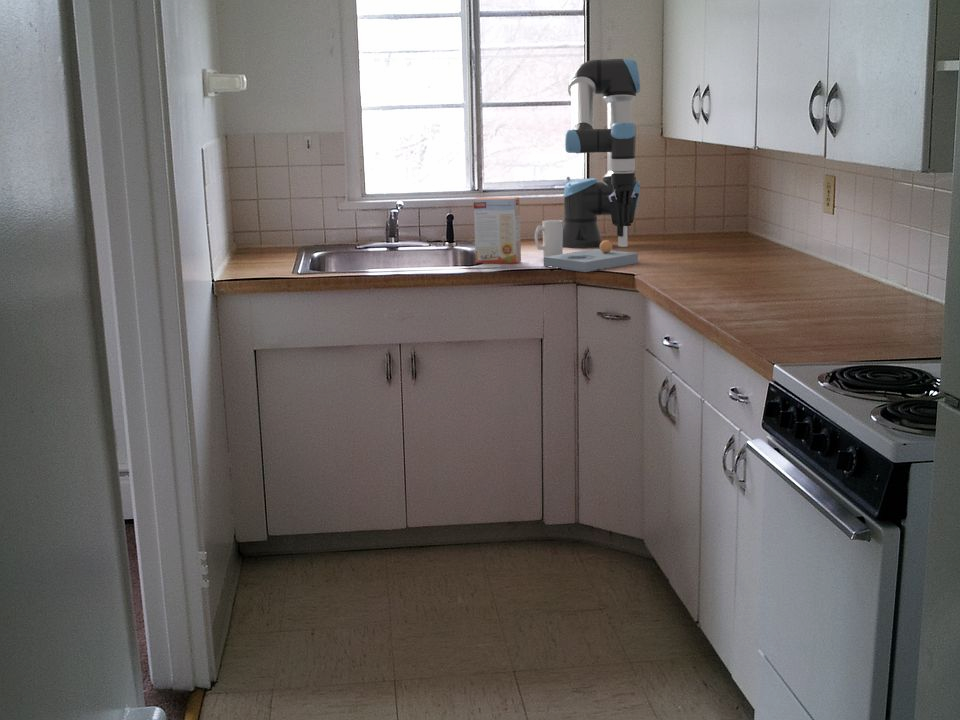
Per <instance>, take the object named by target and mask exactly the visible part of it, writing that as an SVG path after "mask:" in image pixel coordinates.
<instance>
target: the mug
mask: <svg viewBox="0 0 960 720" xmlns="http://www.w3.org/2000/svg"><path fill="white" fill-rule="evenodd" d="M541 221H542V223H541V224H542V225H537V226H536V229H535V231H534V242H535V245H536V248H537V249H538V250H539V251H541V250H542V251H543V252H542V253H543V258H544V257H547V256H553V255H560V254H563V252H564V251H563V227H564V221H563V220H562V219H548V220H541ZM540 231H542V245H541V244H540V241H539V233H540Z"/></svg>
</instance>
